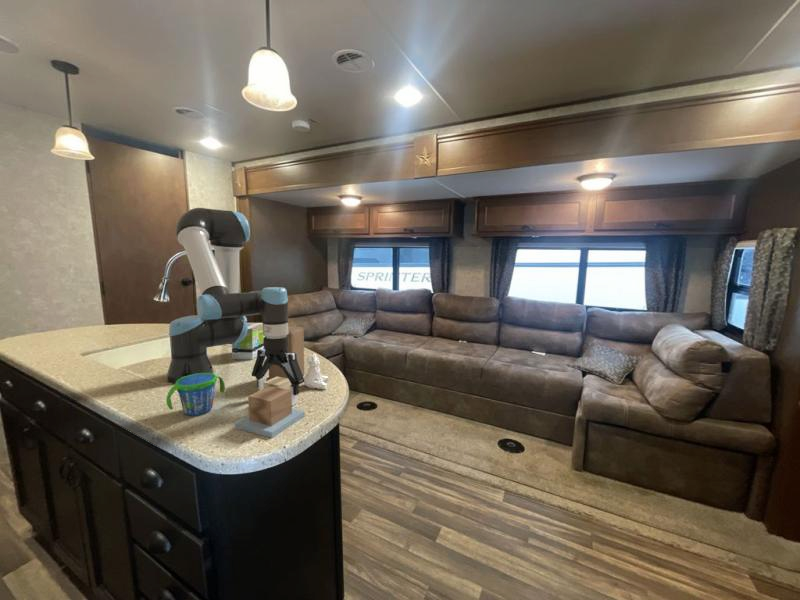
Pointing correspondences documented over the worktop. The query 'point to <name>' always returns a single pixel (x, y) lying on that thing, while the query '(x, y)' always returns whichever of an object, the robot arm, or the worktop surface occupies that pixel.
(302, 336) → the block
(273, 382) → the oak brick
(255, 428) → the plate
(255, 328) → the tea box
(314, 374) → the sitting furry creature
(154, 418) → the worktop surface
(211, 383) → the snack cup
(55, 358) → the worktop surface
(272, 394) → the walnut brick
